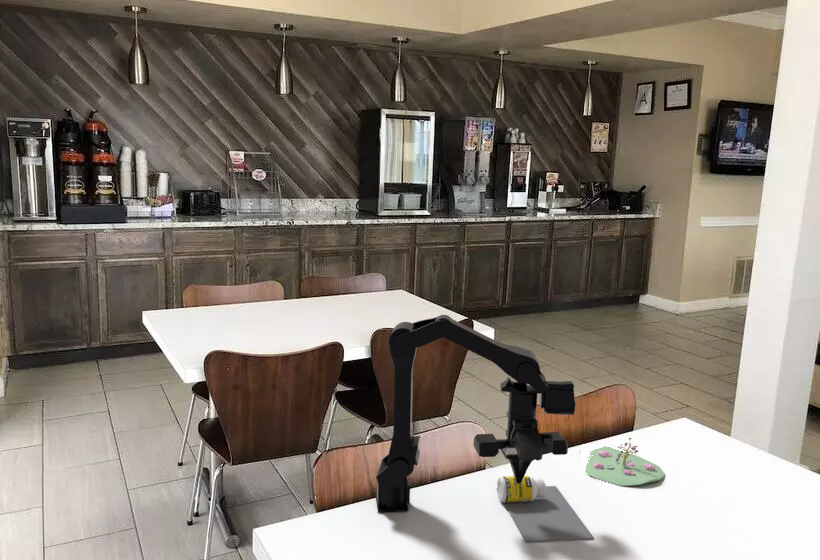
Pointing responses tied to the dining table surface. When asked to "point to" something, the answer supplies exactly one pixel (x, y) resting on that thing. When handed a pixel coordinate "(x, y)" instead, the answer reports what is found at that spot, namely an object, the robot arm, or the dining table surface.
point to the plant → (622, 467)
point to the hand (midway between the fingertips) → (518, 482)
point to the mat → (548, 519)
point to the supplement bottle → (520, 489)
